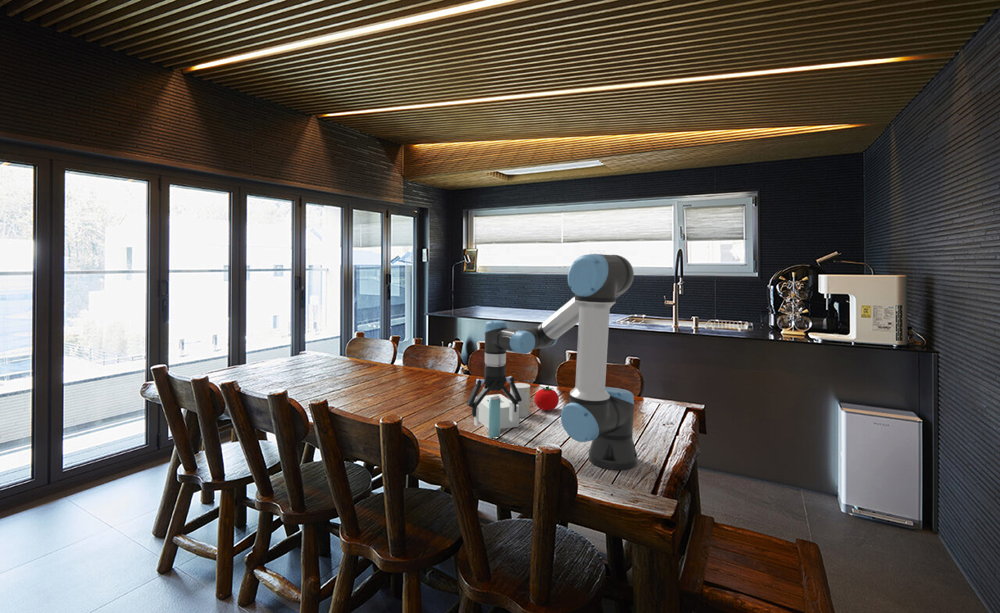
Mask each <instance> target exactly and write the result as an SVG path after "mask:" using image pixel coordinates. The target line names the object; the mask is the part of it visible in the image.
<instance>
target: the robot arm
mask: <svg viewBox="0 0 1000 613" xmlns="http://www.w3.org/2000/svg"><path fill="white" fill-rule="evenodd" d="M634 273H635V272H634V269H633V266H632V264H631V263H630V261H629V260H628V259H627V258H625V257H624V256H621V255H619V254H618V255H617V254H602V253H601V254H599V253H589V254H583V255H580V256H578V257H577V258H576V259H575V260H574V261H573V262H572V263H571V265H570V267H569V269H568V272H567V284H568V287H569V288H570V291H572V293H573V294H574V296H572V298H571V299H569V300H568V301H567V302H566V303H565V304H563V305H562V306H561V307H560V308H559V309H557V310H556V311H555V312H553V313H552V314H551V315H550V316H548V317H547V318H546V319H544V321H542V322H541V323H540V324H538V325H537V326H535V327H534V326H533V327H527V328H521V329H520V328H518V329H517V328H516V329H515V328H508V324H507V322H506V321H504V320H500V319H499V320H498V319H497V320H488V321H486V322H485V326H484V327H485V328H484V364H485V365H484V371H483V372H484V378H480V379H479V378H478V377H477V378H476V379H475V382H474V386H473V388H472V390H471V392H470V395H469V398H468V399H467V400H466V405H467V406H468V407H470V408H471V416H472V417H473V425H474V426H475V427H479V424H480V422H479V408H478V407H477V406H478V405H479V404H480V402H481V401H482V400H483V398H484V397H485V396H486V395H488V393H490V392H495V391H498V392H499V391H502V392H503V393H504V394H505V396H506V397H507V398H508V399H509V400H511V401H512V402H509V420H510V421H511V422H514V412H516V409H517V404H518V402H519V401H520V402H521V401H522V399H521V397H520V394H519V392H518V390H517V388H516V386H515V384H514V383H515V378H514V377H513V376H512V375H508V376H507V377H506V373H507V372H506V371H507V367H506V363H507V351H509V352H513V353H517V354H530V352H532V351H533V350H537V349H538V350H540V349H545V348H546V349H547V348H550V347H553V346H555V345H556V344H557V342H558V339H559V338H560V337H562V335H563V334H565V333H566V332H568V331H570V329H572V328H573V327H575V325H577V324H578V325H577V326H578V327H577V328H578V330H577V346H576V347H577V349H576V366H575V368H576V369H575V386H574V387H573V388H572V389H571V390H569V391H570V392H569V401H568V402H569V403H566V404H565V406H564V407H562V410H561V412H560V422H561V425H562V427H563V428H562V429H563V430H564V431H565V432H566V434H567V435H568V436H569V437H570V438H571V439H572V440H574V441H577V442H579V443H586V442H591V445H590V448H589V450H588V456H587V457H588V458H587V459H588V461H589V462H590V463H591V464H592V465H595V466H597V467H599V468H602V469H605V470H606V469H607V470H611V471H612V470H614V471H615V470H616V471H625V470H626V471H627V470H630V469H633V468H635V467H637V465H638V453H637V449H636V447H635V443H634V439H633V438H634V437H633V435H634V433H633V431H634V430H633V429H634V413H635V412H634V411H635V399H634V398H635V397H634V394H633V392H631V391H630V390H627V389H625V388H623V389H622V388H618V387H609V386H606V380H607V379H606V377H607V363H608V362H607V360H608V344H609V330H610V329H609V327H610V311H611V310H610V309H611V308H612V306H613V305H615V304H616V302H617V300H616V299H617V298H618V297H620V296H621V295H623V294H624V293H626V292H627V291H628V290H629V288H630V287H631V285H632V283H633V281H634V276H635V275H634ZM506 383H508V386H509V387H511V389H512V391H513V393H514V396H515V398H514V397H513V396H512V395H511V393H510V390H508V388H507V386H505V384H506ZM483 384H484V386H483ZM481 386H483V387H482V389H481ZM480 390H481V391H480ZM479 391H480V392H479ZM476 396H477V397H476ZM475 398H476V399H475Z"/></svg>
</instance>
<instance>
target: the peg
mask: <svg viewBox="0 0 1000 613" xmlns="http://www.w3.org/2000/svg"><path fill="white" fill-rule="evenodd" d="M490 395H491V396H490V398H489V429H488V438H489V439H491V438H493V437H500V438H501V429H500V398H499V396H498V395H496V394H490ZM489 436H490V437H489ZM493 440H497V439H496V438H493Z"/></svg>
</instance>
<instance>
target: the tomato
mask: <svg viewBox="0 0 1000 613" xmlns="http://www.w3.org/2000/svg"><path fill="white" fill-rule="evenodd" d="M559 401H560V396H559V394H558V393H557V392H556V390H554V387H551V388H550V386H549V385H548V386H545V387H542V386H540V389H538V390H537V391H536V393H535V394H534V404H535V405H536V406H537V408H538V409H539V410H541V411H547V412H548V411H552V410H554V409H556V407H558V405H559Z"/></svg>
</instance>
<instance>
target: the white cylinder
mask: <svg viewBox="0 0 1000 613" xmlns="http://www.w3.org/2000/svg"><path fill="white" fill-rule="evenodd" d="M514 384H515V386H516V388H517V390H518V392H519V394H520V397H521V399H522V401H521V402H520V401H519V402H518V404H517V405H519V418H526V417H529V416H530V414H531V413H530V412H531V410H530V408H531V406H530V404H531V385H530V384H529V383H525V382H524V383H523V382H516V383H515V382H514ZM509 387H510V386H509ZM509 392H510V393H511V395H512V396H513V397H514V398H515V396H514V393H513V391H512V389H511V387H510V389H509Z"/></svg>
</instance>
